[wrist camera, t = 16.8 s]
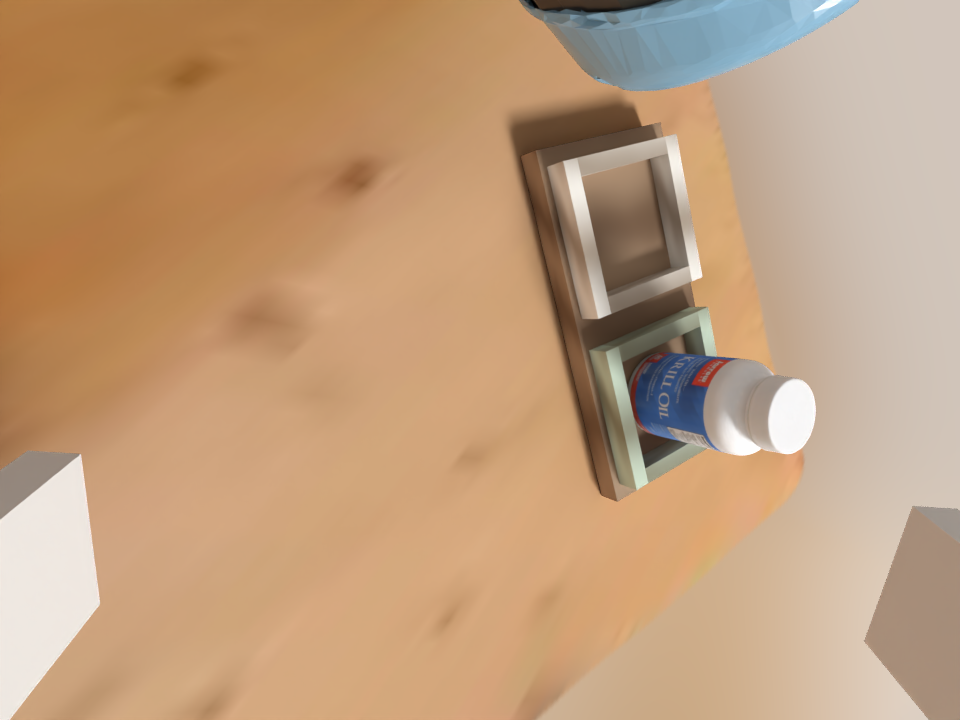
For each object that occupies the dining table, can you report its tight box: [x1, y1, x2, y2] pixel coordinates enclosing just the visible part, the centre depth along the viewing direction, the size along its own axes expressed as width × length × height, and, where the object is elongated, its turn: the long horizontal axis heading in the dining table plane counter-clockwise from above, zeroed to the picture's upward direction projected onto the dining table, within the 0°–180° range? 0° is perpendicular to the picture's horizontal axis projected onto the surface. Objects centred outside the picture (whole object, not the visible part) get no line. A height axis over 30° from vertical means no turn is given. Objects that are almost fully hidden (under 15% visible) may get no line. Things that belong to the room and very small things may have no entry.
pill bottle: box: [628, 352, 816, 455], centre depth 36 cm, size 6×5×10 cm
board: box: [521, 123, 717, 502], centre depth 39 cm, size 22×10×3 cm, turn 17°
